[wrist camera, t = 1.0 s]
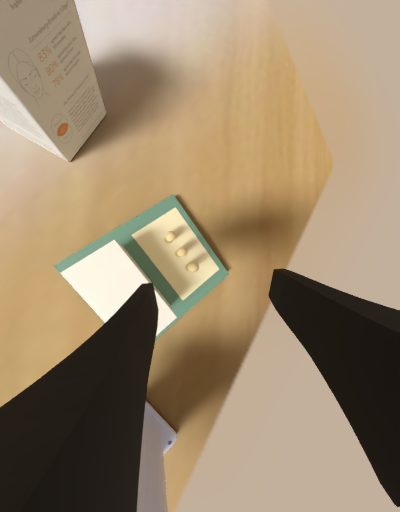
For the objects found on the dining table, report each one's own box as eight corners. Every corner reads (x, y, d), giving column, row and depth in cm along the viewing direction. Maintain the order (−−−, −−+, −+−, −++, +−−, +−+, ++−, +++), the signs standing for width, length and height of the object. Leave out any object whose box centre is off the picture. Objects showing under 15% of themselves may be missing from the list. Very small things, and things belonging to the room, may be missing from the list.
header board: (136, 352, 18) (133, 373, 15) (60, 265, 17) (35, 265, 13) (225, 273, 23) (239, 275, 19) (172, 198, 21) (176, 184, 17)
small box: (52, 75, 17) (-186, -392, 5) (108, 114, 19) (33, -166, 7) (3, 126, 16) (-518, -372, 3) (69, 164, 17) (-125, -82, 5)
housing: (137, 333, 17) (134, 355, 13) (83, 270, 16) (60, 272, 12) (170, 305, 19) (176, 317, 14) (122, 246, 17) (114, 239, 13)
